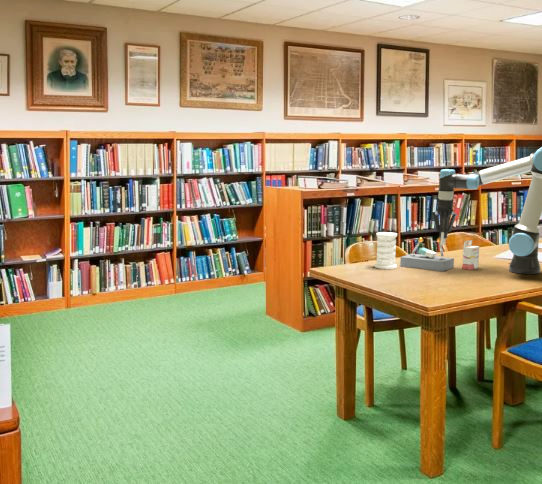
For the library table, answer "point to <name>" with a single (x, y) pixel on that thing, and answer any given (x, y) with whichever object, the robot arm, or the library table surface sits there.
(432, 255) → the rocker mid
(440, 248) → the lever near
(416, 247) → the lever far
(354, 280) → the library table surface
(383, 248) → the decorative container
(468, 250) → the ink cartridge box
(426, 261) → the console
